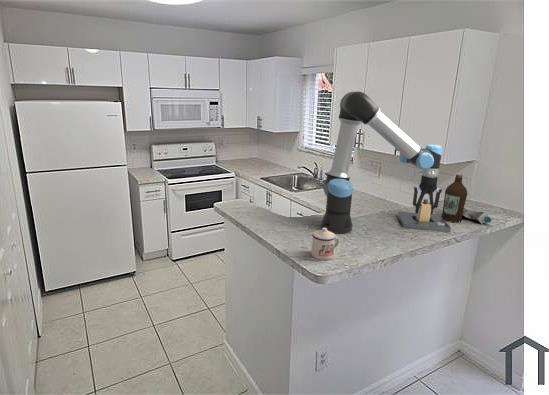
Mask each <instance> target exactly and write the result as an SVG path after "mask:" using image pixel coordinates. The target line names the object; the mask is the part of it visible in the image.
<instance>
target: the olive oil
mask: <svg viewBox="0 0 549 395" xmlns="http://www.w3.org/2000/svg"><path fill="white" fill-rule="evenodd" d="M467 198H468V190H467V187H466V186H465V185H464V183H463V175H462V174H455V177H454V181H453V182H452V183H451V184H450V185H448V186H447V187H446V188H445V191H444V199H443V205H442V213H441V217H442V218H443V219H444V220H447V221H446V222H448V221H452V222H451V223H454V222H458V223H460V222H459V221H462V217H463V215H462V213H463V209H464V208H465V206H466V200H467Z"/></svg>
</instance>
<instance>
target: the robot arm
mask: <svg viewBox="0 0 549 395" xmlns="http://www.w3.org/2000/svg"><path fill="white" fill-rule="evenodd" d="M338 120H339V122H340V123H339V124H340V125H339V129H338V130H339V131H338V134H337V140H336V144H335V150H334V153H333V159H332V163H331V168H330V170H328V171H327V172H326V178H325V180H324V182H323V184H322V185H323V186H322V187H323V192H324V194H325V196H326V205H325V206H326V207H325V212H324V215H323V218H322V220H321V223H320V227H321V229H322V228H327V230H328V231H330V232H332V233H334V234H348V233H351V232H352V231H353V228H354V227H353V221H352V217H351V210H352V202H353V200H352V198H353V192H354V186H353V185H354V184H353V183H352V181H350V179H351V176H350V174H349V169H350V164H351V161H352V155H353V151H354V147H355V143H356V142H355V141H356V137H357V132H358V128H359V125H361V124H363V125H364V126H369V127H370V128H372V130H374V131H375V132H376V133H377V134H378V135H379V136H381V137H382V138H383V139H385V141H386V142H388V143H389V144H390V145H391V146H392V147H393V148H395V149H396V150H397V151H398V152H399V161H400V163H401V164H411V165H413V166H414V167H417V168H418V169H420V170H422V172H421V179H420V183H419V185H418V186H413V190H414V191H413V197H412V198H413V199H412V205H413V207H415V211H414V213H417V216H416V219H417V220H419V215H420V209H421V208H420V207H419V206H420V204H421V202H423V200H424V196H426V195H428V197H429V204H430V205H431V210H430V214H431V215H434V214H433V212H434V209H437V208H439V202H440V195H441V193H442V192H443V189H442V188H439V187H438V185H437V183H438V176H439V172H440V165H441V159H442V156H443V146H441V145H440V144H426V147H425V148H422V147H421V146H420V145H419V144H418V143H416V142H415V141H414V140H413V139H412V138H411V137H410V136H408V134H406V133H405V132H404V131H403V130H402V129H401V128H400V127H398V125H396V124H395V123H394V122H392V120H391V119H389V117H387V116H386V115H385V114H384V113H383V112H382V111H381V107H379V106H378V104H377V103H376V102H374V101H373V100H372V99H371V97H370V96H368V95H367V93H365V92H363V91H359V90H358V91H350V92H347V93H345V95H343V96H342V98H341V100H340V102H339V114H338ZM419 190H420V191H421V192H420V194H419V197H418V192H419ZM435 191H436V193H435V198H434V192H435ZM417 199H418V200H417ZM429 220H430V216H429Z"/></svg>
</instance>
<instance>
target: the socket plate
mask: <svg viewBox="0 0 549 395" xmlns="http://www.w3.org/2000/svg"><path fill="white" fill-rule="evenodd" d="M396 214H397V218H398V220H399V222H400V225H401V226H402V228H403V229H412V230H419V229H420V230H421V231H429V230H431V231H430V232H439V231H440V232H441V233H449V232H450V233H451V229H452V227H451V226H450V225H449V224H448V223H447V221H445V220H444V219H443V218H442V215H440V214H432V215H431V214H430V220H429V222H424V221H419V220H417V219H416V216H417V213H416V212H407V211H397V213H396ZM414 220H415V221H414Z"/></svg>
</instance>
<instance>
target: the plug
mask: <svg viewBox="0 0 549 395" xmlns="http://www.w3.org/2000/svg"><path fill="white" fill-rule="evenodd" d="M419 207H420V208H421V209H420V215H419V221H424V222H429V216H430V210H431V205H430V201H429V200H428V199H424V198H423V200H422V202H421V204H420V206H419Z"/></svg>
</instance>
